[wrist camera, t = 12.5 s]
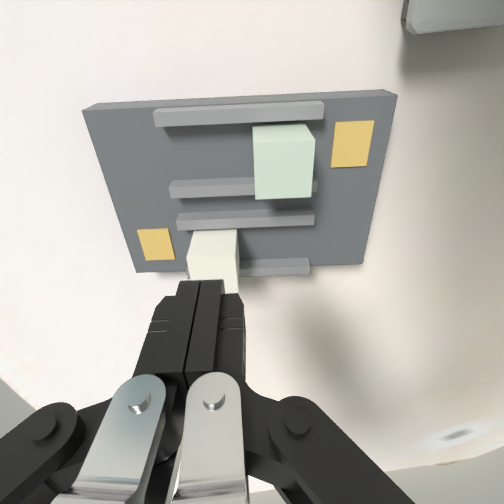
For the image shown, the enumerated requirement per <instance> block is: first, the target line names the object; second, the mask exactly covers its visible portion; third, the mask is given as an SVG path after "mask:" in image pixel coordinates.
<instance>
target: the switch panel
mask: <svg viewBox="0 0 504 504" xmlns="http://www.w3.org/2000/svg"><path fill="white" fill-rule="evenodd" d="M397 97H398V95H396V94H393V93H391V92H389V91H386V90H384V89H382V90H362V91H341V92H320V93H300V94H279V95H259V96H238V97H218V98H197V99H177V100H156V101H136V102H115V103H97V104H95V105H93V106H91V107H88V108H86V109H84V110H82V113H83V116H84V119H85V122H86V125H87V128H88V131H89V134H90V137H91V140H92V143H93V146H94V149H95V151H96V154H97V157H98V160H99V163H100V166H101V169H102V172H103V175H104V178H105V181H106V184H107V187H108V190H109V193H110V196H111V199H112V202H113V205H114V208H115V211H116V214H117V217H118V220H119V222H120V225H121V228H122V231H123V234H124V237H125V240H126V243H127V246H128V249H129V252H130V255H131V258H132V261H133V264H134V267H135V270H136V273H141V272H166V271H187V276H188V279H190V274H189V269H188V264H187V259H186V258H187V254H188V250H189V247H190V243H191V239H192V236H193V232H194V230H204V229H228V228H237V233H238V245H239V258H240V262H239V277H252V276H277V275H302V274H310V266H317V265H342V264H362V263H363V258H364V253H365V248H366V244H367V239H368V234H369V230H370V225H371V220H372V215H373V211H374V206H375V201H376V196H377V192H378V187H379V182H380V178H381V173H382V168H383V163H384V159H385V154H386V149H387V144H388V140H389V135H390V130H391V125H392V121H393V116H394V111H395V107H396V102H397ZM290 122H304V123H305V125H306V126H307V128H308V129H309V131H310V132H311V134H312V136H313V137H314V139H315V152H314V165H313V178H312V191H311V197H302V198H279V199H256V200H255V180H254V155H253V130H252V124H268V123H290Z"/></svg>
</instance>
